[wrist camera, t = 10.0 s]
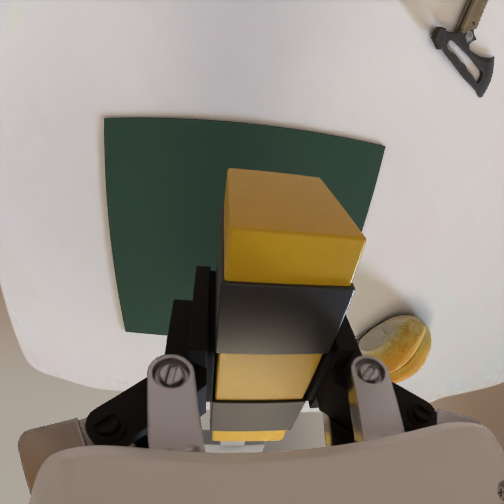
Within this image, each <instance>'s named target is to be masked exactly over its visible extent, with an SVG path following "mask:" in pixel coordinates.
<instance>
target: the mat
mask: <svg viewBox="0 0 504 504" xmlns="http://www.w3.org/2000/svg"><path fill="white" fill-rule="evenodd" d="M104 146H105V175H106V192H107V206H108V217H109V228H110V237H111V246H112V254H113V261H114V268H115V275H116V281H117V288H118V294H119V299H120V305H121V310H122V316H123V321H124V326H125V331H126V332H135V333H146V334H157V335H168V331H169V324H170V318H171V312H172V306H173V301H174V299H179V300H193V291H194V282H195V273H196V266H209V267H211V271H216V259H217V246H218V233H219V221H220V210H221V206H224V200H225V190H226V180H227V170H228V169H229V168H235V169H247V170H258V171H268V172H277V173H286V174H294V175H303V176H310V177H318V178H320V179H321V180H322V181H323V183H324V184H325V185H326V186H327V188H328V189H329V190H330V191H331V193H332V194H333V195H334V196H335V198H336V199H337V200H338V202H339V203H340V204H341V205H342V207H343V208H344V209H345V211H346V212H347V213H348V215H349V216H350V217H351V219H352V220H353V221H354V223H355V224H356V225H357V227H358V228H359V230H360V231H361V232H362V229H363V226H364V223H365V219H366V216H367V213H368V209H369V206H370V202H371V199H372V195H373V192H374V188H375V185H376V181H377V177H378V173H379V170H380V166H381V162H382V158H383V154H384V150H385V146H381V145H377V144H372V143H368V142H363V141H358V140H353V139H348V138H343V137H338V136H333V135H327V134H321V133H315V132H309V131H303V130H296V129H289V128H282V127H274V126H266V125H258V124H248V123H238V122H227V121H214V120H198V119H177V118H105V119H104Z"/></svg>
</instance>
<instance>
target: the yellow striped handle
mask: <svg viewBox="0 0 504 504" xmlns="http://www.w3.org/2000/svg"><path fill="white" fill-rule="evenodd" d="M365 242H366V238H365V236H364V235H363V234H362V232H361V231H360V230H359V228H358V227H357V225H356V224H355V223H354V221H353V220H352V219H351V217H350V216H349V215H348V213H347V212H346V211H345V209H344V208H343V207H342V205H341V204H340V203H339V202H338V200H337V199H336V198H335V196H334V195H333V194H332V193H331V191H330V190H329V189H328V188H327V186H326V185H325V184H324V183H323V181H322V180H321V179H320V178H318V177H310V176H303V175H294V174H286V173H277V172H268V171H258V170H247V169H235V168H229V169H228V170H227V180H226V190H225V200H224V206H221V210H220V221H219V233H218V246H217V259H216V291H215V360H214V376H213V393H212V402H210V430H202V433H203V440H204V447H205V452H209V453H254V452H262V450H263V448H264V446H265V441H271V440H281V439H282V438H283V436H284V434H285V432H286V430H290V429H291V428H292V426H293V425H294V423H295V421H296V419H297V417H298V415H299V413H300V411H301V409H302V407H303V405H304V403H305V401H306V400H305V395H304V394H305V392H306V390H307V388H308V386H309V384H310V382H311V379H312V377H313V375H314V373H315V371H316V368H317V366H318V364H319V362H320V359H321V357H322V355H323V354H327V353H329V351H330V349H331V347H332V344H333V342H334V340H335V338H336V335H337V333H338V331H339V328H340V326H341V324H342V321H343V319H344V316H345V314H346V311H347V309H348V307H349V304H350V302H351V299H352V296H353V294H354V291H355V287H354V285H353V283H352V280H353V277H354V274H355V271H356V269H357V266H358V263H359V260H360V257H361V254H362V251H363V248H364V245H365Z"/></svg>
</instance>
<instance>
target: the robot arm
mask: <svg viewBox="0 0 504 504" xmlns="http://www.w3.org/2000/svg"><path fill="white" fill-rule="evenodd" d="M215 291H216V271H211V267H209V266H196V273H195V282H194V291H193V300H179V299H174V301H173V306H172V312H171V318H170V324H169V331H168V337H167V344H166V351H165V355H162V356H160V357H157V358H156V359H155V360H153V361H152V362H151V364H150V365H149V367H148V371H147V378H145V379H143V380H142V381H140V382H139V383H137V384H135V385H134V386H132V387H131V388H129V389H127V390H126V391H124V392H122V393H121V394H119V395H117V396H116V397H114V398H113V399H111V400H109V401H108V402H106V403H104V404H103V405H101V406H99V407H97V408H96V409H94V410H93V411H92V412H91V413H90V414H89V415H88V417H87V418H85V419H81V420H78V419H77V418H74V419H71V420H67V421H63V422H59V423H55V424H52V425H47V426H43V427H39V428H34V429H30V430H28V431H26V432H24V433H23V434H22V435H21V437H20V439H19V441H18V449H19V453H20V458H21V462H22V466H23V470H24V474H25V477H26V481H27V484H28V487H29V491H30V494H31V497H30V502H29V504H504V452H503V451H502V448H501V446H500V445H499V443H498V441H497V439H496V438H495V436H494V435H493V434H492V432H491V431H490V430H489V429H488V428H486V427H484V426H482V425H481V424H480V423H479V422H478V421H477V420H476V419H474V418H472V417H468V416H464V415H460V414H456V413H452V412H448V411H444V410H441V409H437V410H436V411H435V410H434V408H433V407H432V406H431V405H430V404H429V403H428V402H427V401H425V400H423V399H421V398H420V397H418V396H416V395H414V394H413V393H411V392H409V391H407V390H406V389H404V388H402V387H400V386H399V385H397V384H395V383H393V382H392V381H391V378H390V374H389V371H388V369H387V366H386V365H385V364H384V363H383V362H382V361H381V360H380V359H378V358H376V357H374V356H370V355H362V353H361V351H360V348H359V346H358V343H357V341H356V338H355V336H354V334H353V331H352V329H351V326H350V324H349V321H348V319H347V317H346V314H345V316H344V319H343V321H342V324H341V326H340V328H339V331H338V333H337V335H336V338H335V340H334V342H333V344H332V347H331V349H330V351H329V353H327V354H323V355H322V357H321V359H320V362H319V364H318V366H317V368H316V371H315V373H314V375H313V377H312V379H311V382H310V384H309V386H308V388H307V390H306V392H305V394H304V395H305V400H306V401H309V406H310V408H319V410H320V411H322V412H323V421H324V431H325V443H326V447H322V448H312V449H302V450H292V451H276V452H254V453H209V452H205V447H204V440H203V433H202V427H201V419H200V417H201V416H202V415H203V414H205V413H206V402H212V393H213V376H214V360H215Z"/></svg>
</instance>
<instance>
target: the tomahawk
mask: <svg viewBox="0 0 504 504" xmlns="http://www.w3.org/2000/svg"><path fill="white" fill-rule="evenodd" d="M487 2H488V0H468V1H467V4H466V6H465V8H464V11H463V13H462V15H461V18H460V20H459V22H458V24H457V27H456V31H457V32H456V33H452V32H448V31H446V28H443V27H436V28H435V31H434V33H433V35H432V37H431V39H432V41H433V43H434V45H435V47H436V49H441V50H442V51H443V52H444V53H445V55H446V56H447V57H448V59H449V60H450V61H451V62H452V64H453V65H454V66H455V67H456V69H457V70H458V71H459V73H460V74H461V75H462V77H463V78H464V79H465V80H466V81H467V82H468V83H469V84H470V85H471V86H472V87H473V88H474V89H475V91H476V92H477V95H478V97H482V96H483V95H484V93H485V91H486V89H487V87H488V85H489V83H490V81H491V77H492V73H493V66H494V57H492V58H483V57H480V56H478V55H476V54H474V53H473V52H471V51H470V49H469V44H470V43H471V42H472V41H474V40H476V37H475V36H474V29H476V28H477V26H478V24H479V23H478V22H479V21H480V18H481V17H482V13H483V12H484V11H483V10H484V9H485V6H486V5H487ZM450 40H452V41H453V42H455V43H456V44H457V45H458V46H459V47H460V48H461V49H462V50H463V51H464V52H465V53H466V54H467V55H468V56H469V57H470V58H471V60H472V61H473V62H474V63H475V65H476V66H477V67H478V69H479V70H480V72H481V74H480V78H479V80H478V81H477V82H476V81H475V79H474V77H473V76H472V75H471V74H470V73H469V72H468V70H467V68H466V66H465V64H463V63H462V62H461V61H460V60H459V59H458V57H457V56H456V55H455V54H454V53H453V52H451V51H450V50H449V49H448V47H447V43H448V42H449V41H450Z"/></svg>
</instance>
